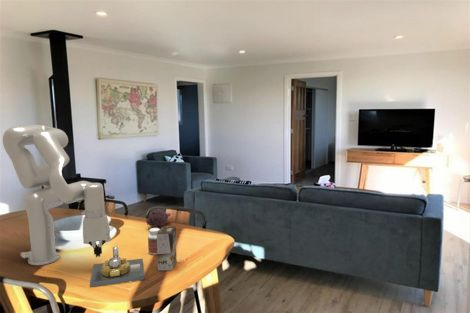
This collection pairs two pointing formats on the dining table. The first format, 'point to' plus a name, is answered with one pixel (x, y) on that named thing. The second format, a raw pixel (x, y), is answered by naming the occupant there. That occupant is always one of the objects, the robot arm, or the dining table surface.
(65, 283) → the dining table surface
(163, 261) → the coffee box
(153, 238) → the pill bottle
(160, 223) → the pine cone
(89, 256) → the dining table surface
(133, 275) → the plate
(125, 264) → the gold ring
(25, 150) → the robot arm
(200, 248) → the dining table surface
